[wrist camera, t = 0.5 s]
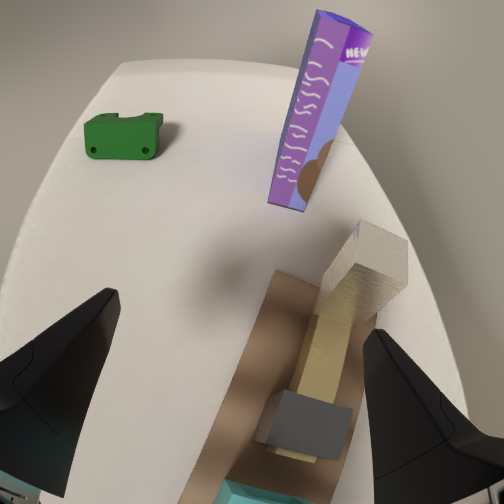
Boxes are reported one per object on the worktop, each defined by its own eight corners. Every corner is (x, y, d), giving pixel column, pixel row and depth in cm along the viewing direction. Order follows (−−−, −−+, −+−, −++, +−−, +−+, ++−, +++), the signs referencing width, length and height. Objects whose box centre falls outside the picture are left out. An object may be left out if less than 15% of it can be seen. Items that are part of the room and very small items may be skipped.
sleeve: (311, 456, 19) (338, 460, 15) (251, 440, 20) (265, 443, 15) (324, 415, 22) (353, 409, 17) (267, 398, 22) (284, 389, 18)
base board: (306, 542, 14) (310, 545, 14) (174, 510, 15) (173, 514, 14) (372, 314, 30) (377, 310, 29) (273, 275, 30) (275, 270, 30)
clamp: (151, 164, 44) (175, 117, 39) (142, 180, 40) (167, 128, 35) (91, 138, 40) (109, 89, 35) (75, 151, 35) (93, 96, 30)
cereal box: (303, 212, 37) (374, 33, 18) (267, 202, 37) (322, 15, 17) (307, 144, 47) (349, 18, 28) (280, 136, 47) (316, 8, 28)
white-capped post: (306, 461, 18) (379, 472, 10) (259, 449, 18) (306, 460, 10) (348, 304, 27) (407, 240, 19) (312, 290, 27) (360, 218, 19)
